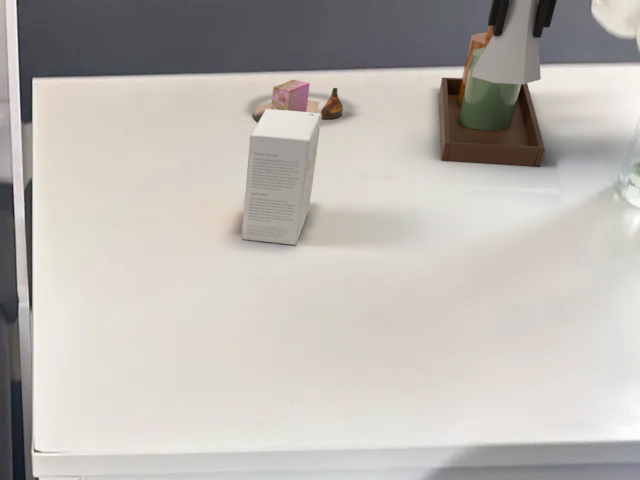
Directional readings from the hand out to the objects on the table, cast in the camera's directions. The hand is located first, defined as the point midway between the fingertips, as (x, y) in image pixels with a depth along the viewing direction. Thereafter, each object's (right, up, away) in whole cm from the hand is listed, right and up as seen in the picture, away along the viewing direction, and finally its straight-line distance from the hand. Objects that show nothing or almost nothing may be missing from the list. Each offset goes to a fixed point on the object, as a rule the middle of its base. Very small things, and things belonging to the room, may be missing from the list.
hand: (516, 32), depth 101 cm
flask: (0, -4, +3) cm, 5 cm away
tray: (+3, -6, +14) cm, 15 cm away
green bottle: (+3, -4, +15) cm, 16 cm away
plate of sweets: (-17, -2, +22) cm, 28 cm away
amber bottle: (+6, 0, +20) cm, 21 cm away
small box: (-27, -22, -5) cm, 35 cm away
